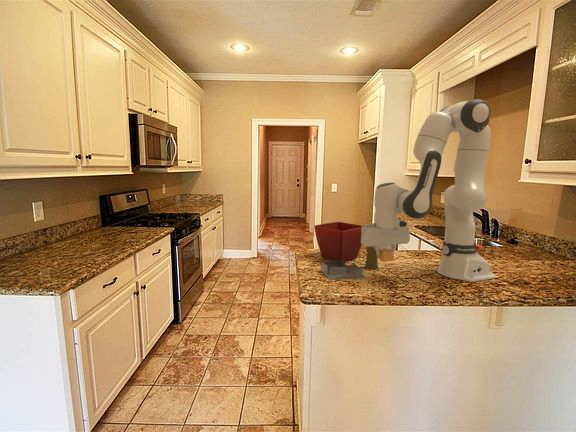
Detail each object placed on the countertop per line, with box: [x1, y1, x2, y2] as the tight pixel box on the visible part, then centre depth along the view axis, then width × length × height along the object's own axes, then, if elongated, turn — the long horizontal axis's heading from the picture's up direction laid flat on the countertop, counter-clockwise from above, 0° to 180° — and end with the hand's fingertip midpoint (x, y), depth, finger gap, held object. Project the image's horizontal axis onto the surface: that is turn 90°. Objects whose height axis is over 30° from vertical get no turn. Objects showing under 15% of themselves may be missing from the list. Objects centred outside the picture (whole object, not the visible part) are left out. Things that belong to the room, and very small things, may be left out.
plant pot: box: [314, 221, 365, 263], centre depth 151 cm, size 19×19×17 cm
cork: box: [364, 246, 379, 271], centre depth 137 cm, size 6×6×11 cm
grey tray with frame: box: [320, 260, 365, 281], centre depth 129 cm, size 15×13×4 cm
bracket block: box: [377, 247, 394, 262], centre depth 124 cm, size 4×6×4 cm, turn 9°
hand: (385, 255), depth 124 cm, fingers closed on bracket block, 4 cm apart
